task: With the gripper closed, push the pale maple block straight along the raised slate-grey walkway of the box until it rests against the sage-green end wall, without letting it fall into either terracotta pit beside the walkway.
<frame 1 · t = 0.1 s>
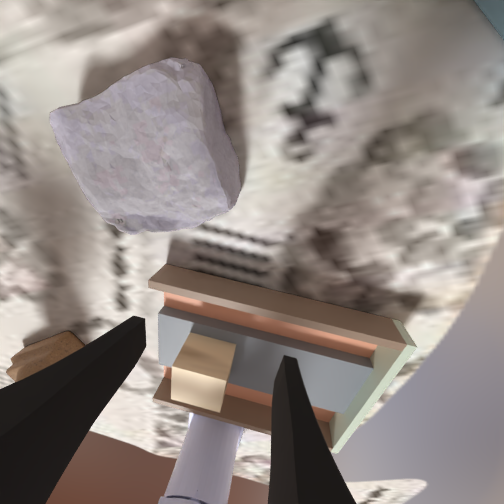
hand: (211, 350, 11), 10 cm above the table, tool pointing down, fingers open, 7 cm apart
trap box: (257, 354, 25), on the table
candle holder: (74, 364, 32), on the table
maple block: (210, 354, 24), point 1 cm above the table, touching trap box
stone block: (168, 166, 18), on the table
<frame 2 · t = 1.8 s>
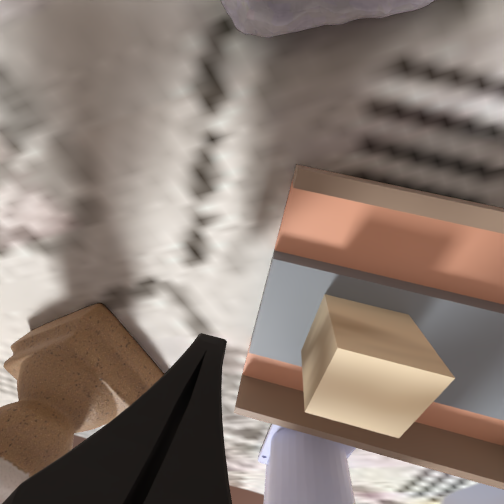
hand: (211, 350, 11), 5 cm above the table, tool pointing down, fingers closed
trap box: (417, 336, 15), on the table
candle holder: (102, 356, 22), on the table
maple block: (350, 334, 14), point 1 cm above the table, touching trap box
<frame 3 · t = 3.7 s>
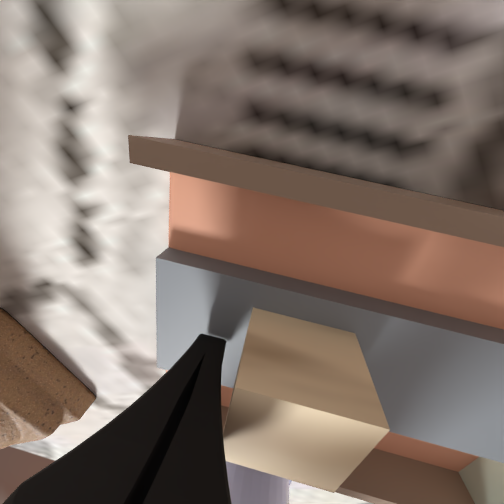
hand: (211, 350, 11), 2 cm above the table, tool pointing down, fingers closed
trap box: (348, 349, 13), on the table
candle holder: (20, 366, 20), on the table
maple block: (289, 355, 12), point 2 cm above the table, touching gripper
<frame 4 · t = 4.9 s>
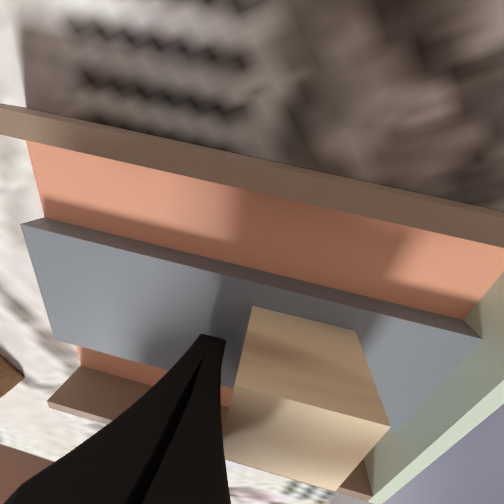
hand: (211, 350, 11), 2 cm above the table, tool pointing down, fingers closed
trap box: (232, 319, 13), on the table
maple block: (290, 353, 12), point 2 cm above the table, touching gripper
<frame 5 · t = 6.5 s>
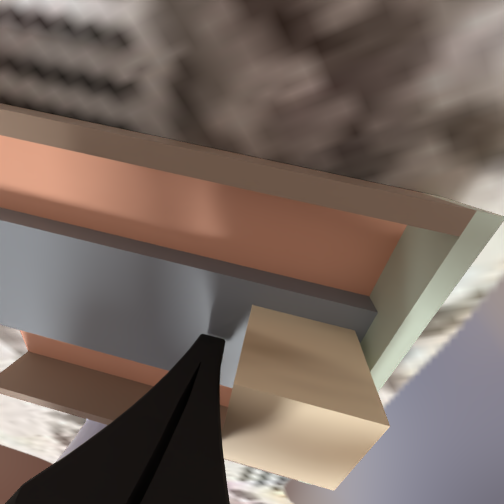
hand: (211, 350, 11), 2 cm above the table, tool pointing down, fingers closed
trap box: (161, 301, 13), on the table
maple block: (289, 352, 12), point 1 cm above the table, touching gripper, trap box
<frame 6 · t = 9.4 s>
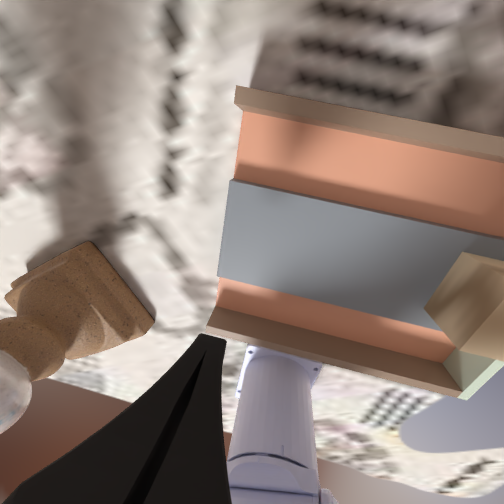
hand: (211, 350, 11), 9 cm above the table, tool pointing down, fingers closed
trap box: (359, 257, 18), on the table
candle holder: (93, 297, 25), on the table
maple block: (476, 290, 16), point 1 cm above the table, touching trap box
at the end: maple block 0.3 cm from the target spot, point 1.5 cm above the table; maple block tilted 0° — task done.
